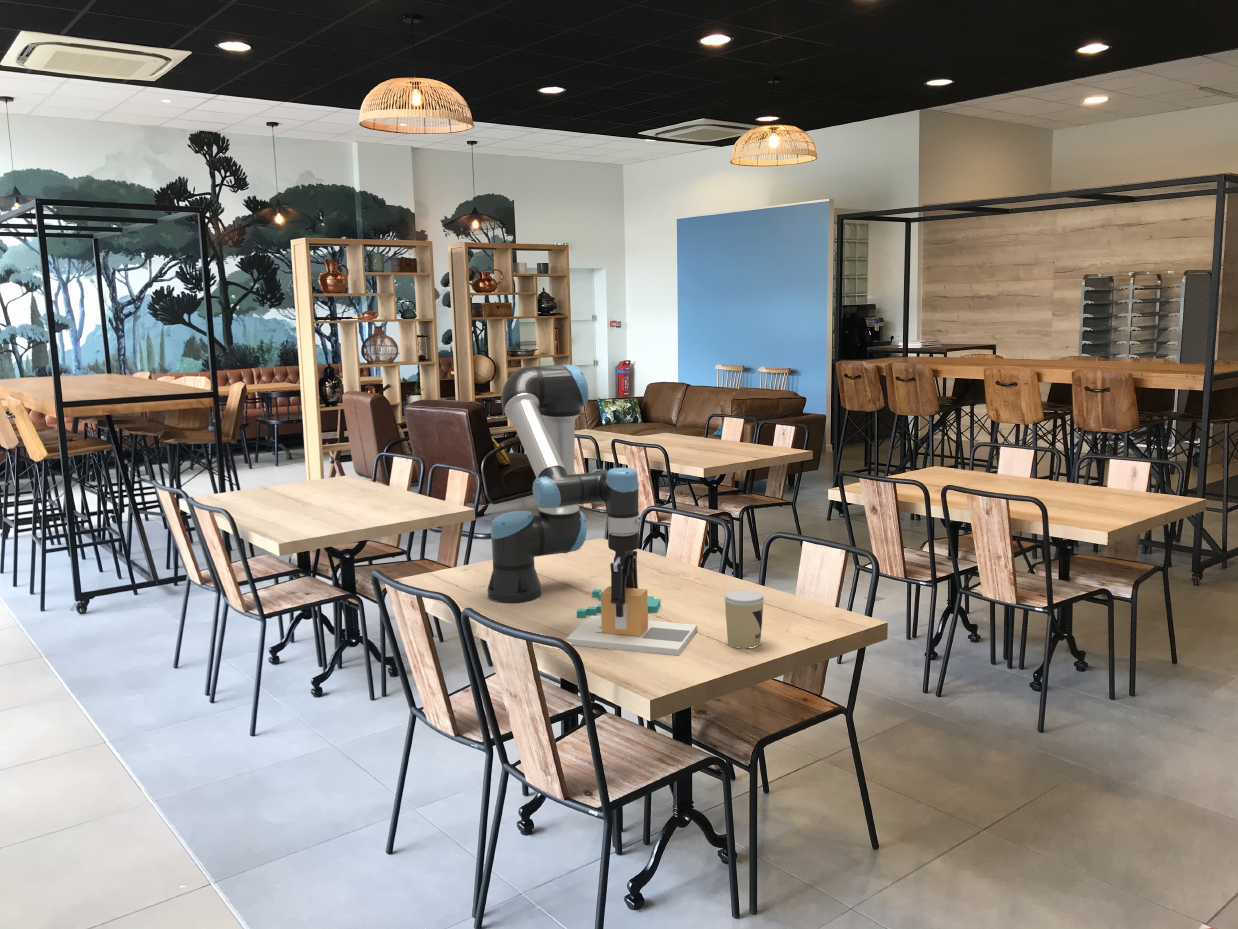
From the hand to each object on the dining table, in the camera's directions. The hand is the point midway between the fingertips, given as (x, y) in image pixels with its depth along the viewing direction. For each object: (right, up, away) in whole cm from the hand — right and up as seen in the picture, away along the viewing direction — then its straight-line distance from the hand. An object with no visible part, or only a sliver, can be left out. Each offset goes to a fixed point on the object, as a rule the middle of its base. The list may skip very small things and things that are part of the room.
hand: (625, 624), depth 238 cm
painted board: (+2, -3, 0) cm, 4 cm away
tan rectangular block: (0, -2, 0) cm, 2 cm away
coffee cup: (+28, -4, -6) cm, 29 cm away
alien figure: (-1, 0, +24) cm, 24 cm away
